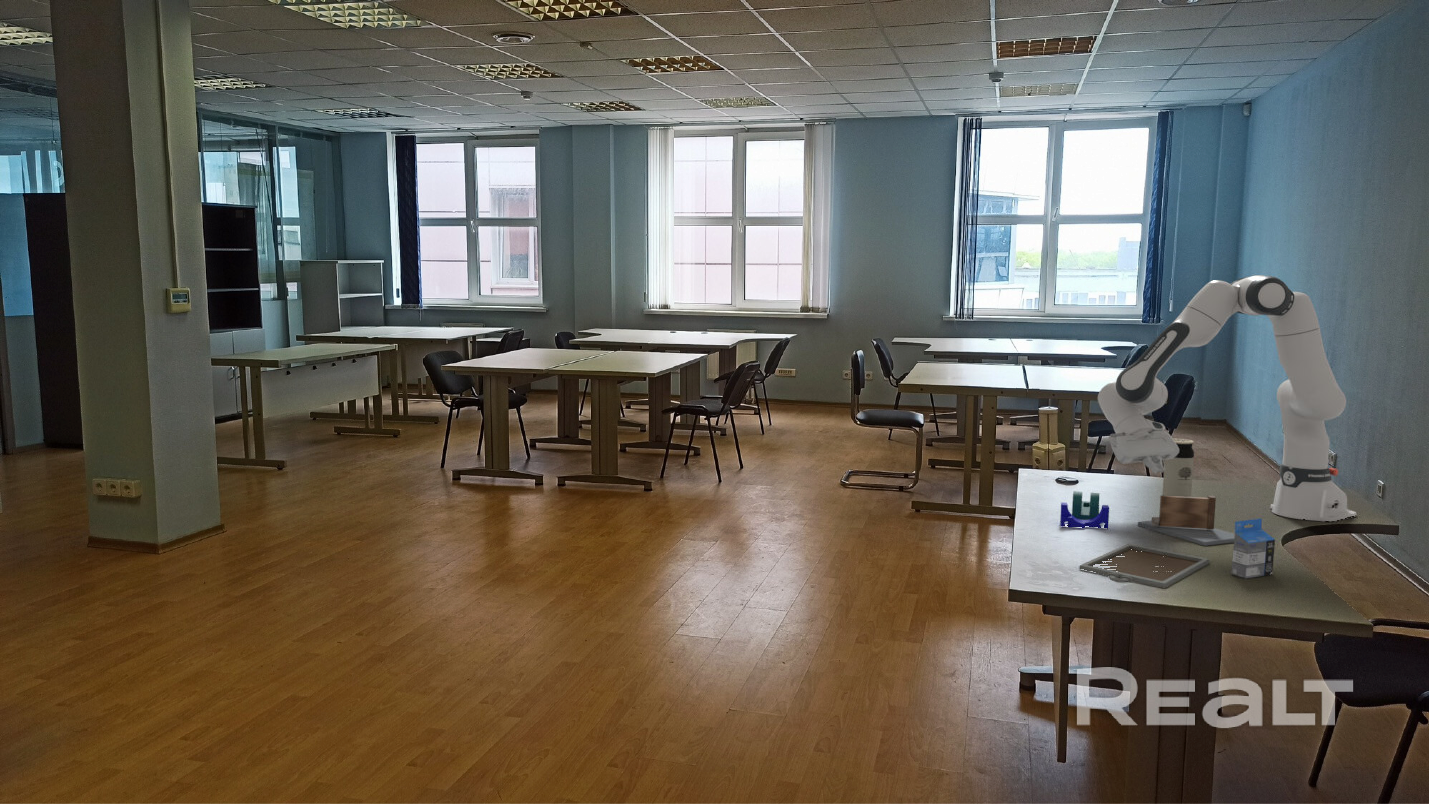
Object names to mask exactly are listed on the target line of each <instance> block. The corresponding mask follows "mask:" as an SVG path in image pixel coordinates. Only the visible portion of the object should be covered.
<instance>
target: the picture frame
mask: <svg viewBox="0 0 1429 804" xmlns="http://www.w3.org/2000/svg"><path fill="white" fill-rule="evenodd" d="M1131 549H1132V550H1131ZM1136 551H1137V552H1136ZM1141 551H1142V552H1141ZM1121 554H1122V555H1121ZM1116 556H1125V557H1116ZM1163 556H1164V557H1163ZM1108 559H1109V560H1108ZM1110 559H1112V560H1110ZM1102 561H1112V562H1106V563H1105V562H1104V563H1103V562H1102ZM1095 564H1108V565H1100V566H1117V567H1110V568H1104V569H1102V568H1098V567H1093V565H1095ZM1116 564H1117V565H1116ZM1209 564H1210V558H1206V557H1201V556H1196V555H1190V554H1185V553H1181V552H1180V553H1179V552H1174V551H1168V550H1164V549H1161V548H1160V549H1159V548H1154V547H1149V546H1143V545H1138V544H1133V543H1126V544H1125V545H1122V546H1119V547H1118V548H1115V549H1114V550H1111V551H1109V552H1107V553H1104V554H1103V555H1099V556H1097V557H1096V558H1093V559H1090V560H1089V561H1086V562H1084V563H1082V564H1080V565H1079V569H1084V570H1087V571H1093V572H1096V573H1099V574H1098V575H1101V574H1104V575H1103V576H1106V577H1108V576H1109V577H1108V578H1109V579H1110V580H1111V581H1113V582H1119V583H1128V582H1131V583H1132V582H1133V581H1134V583H1138V584H1142V585H1147V586H1153V587H1157V588H1162V589H1166V588H1168V587H1170V586H1172V585H1174V584H1176V583H1177V582H1179V581H1181V580H1182V579H1184V578H1186V577H1188V576H1189V575H1191V574H1193V573H1194V571H1195V572H1196V571H1198V570H1199V569H1202V568H1203V567H1205V566H1207V565H1209ZM1155 566H1159V567H1155ZM1161 566H1162V567H1161ZM1163 566H1164V567H1163ZM1107 569H1116V570H1107ZM1087 571H1086V572H1087ZM1116 571H1118V572H1116ZM1153 571H1154V572H1153ZM1155 571H1158V572H1155ZM1166 571H1167V572H1166ZM1168 571H1169V572H1168ZM1170 571H1172V572H1170ZM1096 573H1095V574H1096ZM1185 576H1186V577H1185ZM1176 581H1177V582H1176Z"/></svg>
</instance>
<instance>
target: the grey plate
mask: <svg viewBox="0 0 1429 804" xmlns="http://www.w3.org/2000/svg"><path fill="white" fill-rule="evenodd" d="M1151 521H1152V519H1151V520H1143V521H1141V520H1140V521H1137V526H1139V527H1141V526H1142V527H1141V528H1144V527H1145V529H1148V530H1152V531H1155V532H1159V533H1161V534H1165V535H1167V536H1171V537H1174V538H1177V539H1181V540H1184V541H1187V542H1190V543H1194V544H1198V545H1200V546H1203V547H1207V546H1215V545H1224V544H1231V543H1234V537H1235V532H1231V531H1230V532H1229V531H1226V530H1223V529H1219V528H1216V527H1214V530H1213V529H1201V528H1184V527H1166V526H1152V525H1151Z"/></svg>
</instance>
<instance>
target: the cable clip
mask: <svg viewBox="0 0 1429 804" xmlns="http://www.w3.org/2000/svg"><path fill="white" fill-rule="evenodd" d="M1059 516H1060V518H1059V524H1060V527H1061V526H1065V524H1068V525H1067V526H1068V527H1082V528H1085V526H1089V527H1098V528H1097V529H1100V528H1101V526H1102V525H1101V524H1103V525H1104V528H1107V529H1106V530H1109V522H1110V521H1109V519H1110V506H1109V505H1108V504H1102V505H1101V508H1100V510H1099V514H1098V515H1097V516H1096V517H1094V518H1092V519H1089V520H1081V519H1077V518H1075V517H1074V516H1073V515H1072V512H1070V510H1069V505H1068V502H1062V501H1061V503H1060V515H1059Z"/></svg>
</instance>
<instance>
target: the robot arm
mask: <svg viewBox="0 0 1429 804" xmlns="http://www.w3.org/2000/svg"><path fill="white" fill-rule="evenodd" d="M1235 313H1237V314H1243V315H1249V316H1267V317H1268V319H1269V320H1270V323H1271V325H1272V330H1273V335H1274V339H1275V345H1276V351H1277V355H1278V360H1279V363H1280V365H1281V366H1282V368H1283V370H1284V372H1285V374H1286V376H1287V378H1288V379H1286V380H1284V381H1283V382H1282V383H1280V385H1279V387H1278V388H1277V390H1276V391H1277V392H1276V399H1277V402H1278V404H1279V407H1280V416H1281V421H1282V430H1283V431H1282V432H1283V450H1282V451H1283V452H1282V463H1280V465H1279V466H1280V467H1279V477H1280V478H1279V480H1278V481H1277V483H1276V487H1275V493H1274V498H1273V503H1271V504H1270V509H1271V512H1272V513H1273V514H1275V515H1278V516H1281V517H1285V518H1290V519H1296V520H1303V519H1305V520H1304V521H1306V520H1307V521H1315V522H1316V521H1317V522H1325V521H1335V522H1338V521H1337V520H1339V521H1341V520H1340V519H1343V520H1346V519H1345V518H1347V517H1350V516H1354V517H1356V516H1355V515H1357V512H1356V511H1354V510H1351V509H1348V496H1347V494H1346V493H1345V492H1344V491H1343V490H1342V489H1340V488H1339V487H1338V486H1337V485H1336V484H1335V483H1334V482H1333V481H1332V476H1335V477H1336V476H1338V475H1339V469H1338V468H1333V467H1329V455H1330V444H1331V441H1330V437H1329V435H1328V432H1327V429H1326V425H1325V421H1329V420H1333V419H1336V418H1338V417H1339V416H1341V414H1343V412H1344V410H1345V409H1346V406H1347V398H1346V395H1345V393H1344V392H1343V391H1342V389H1341V388H1340V386H1339V385H1338V382H1337V380H1336V378H1335V375H1334V373H1333V370H1332V368H1331V366H1330V363H1329V361H1328V358H1327V355H1326V352H1325V348H1324V343H1323V339H1322V338H1323V337H1322V333H1321V332H1322V331H1321V327H1320V322H1319V320H1318V316H1317V315H1318V314H1317V313H1316V309H1315V308H1314V305H1313V302H1312V300H1311V298H1310V296H1309V295H1307V294H1306V293H1304V292H1300V291H1292V290H1291V289H1290V288H1289V287H1288V285H1287V284H1286V283H1285V282H1284V281H1283V280H1282V279H1280V278H1278V277H1276V276H1272V275H1261V274H1259V275H1258V274H1256V275H1252V276H1246V277H1245V276H1244V277H1242V278H1239V279H1236V280H1234V281H1233V282H1231V283H1229V282H1227V281H1225V280H1218V279H1216V280H1211V281H1209V282H1207V283H1206V284H1205V285H1204V286H1203V287H1202V288H1201V289H1200V290H1199V291H1198V292H1197V293H1196V294H1195V295H1194V296H1193V298H1192V299H1191V300H1190V301H1189V302H1188V303H1187V304H1186V306H1185V308H1184V309H1182V312H1181V313H1180V314H1179V315H1178V316H1177V317H1176V318H1175V320H1174V321H1172V323H1170V324H1169V325H1167V327H1166V328H1165V329H1163V331H1162V332H1160V334H1159V335H1158V336H1157V337H1156V338H1155V340H1153V342H1152V343H1151V344H1149V346H1148V347H1147V349H1146V350H1145V351H1144V352H1143V353H1142V354H1141V356H1139V358H1138V359H1137V360H1135V361H1134V362H1133V363H1132V364H1130V365H1128V366H1126V368H1124V369H1123V370H1121V371H1120V373H1119V374H1118V376H1117V377H1116V381H1111V382H1109V383H1107V384H1105V385H1104V386H1103V387H1102V388H1101V389H1100V390H1099V393H1098V395H1097V402H1098V405H1099V407H1100V409H1101V412H1102V413H1103V415H1104V416H1105V418H1106V419H1107V421H1108V423H1110V424H1111V425H1112V428H1113V431H1114V433H1111V434H1110V435H1109V436H1108V442H1109V443H1110V445H1111V450H1112V451H1113V454H1114V456H1115V457H1116V459H1117V461H1118V462H1119V463H1121V464H1123V465H1124V464H1133V463H1134V464H1135V463H1143V465H1144V466H1146V468H1148V469H1150V470H1151V472H1152V473H1153V474H1160V473H1164V471H1165V468H1164V464H1163V461H1165V460H1167V459H1173V458H1174V457H1175V456H1177V455H1178V453H1179V448H1178V446H1177V444H1176V443H1175V441H1174V440H1173V439H1174V438H1173V437H1172V436H1171V434H1170V433H1168V432H1167V431H1165V430H1166V426H1165V424H1163V423H1161V422H1156V421H1153V420H1151V419H1148V418H1145V417H1144V416H1146V415H1149V414H1151V413H1153V412H1155V411H1158V410H1159V409H1161V408H1162V407H1164V406H1165V404H1166V403H1167V400H1168V399H1169V391H1168V388H1167V386H1166V385H1165V384H1164V383H1163V382H1162V381H1161V380H1160V379H1158V378H1157V375H1158V373H1159V372H1160V371H1161V370H1162V368H1163V367H1164V366H1165V365H1166V364H1167V363H1168V361H1170V359H1171V358H1172V357H1173V356H1174V355H1175V354H1176V353H1177V352H1178V351H1180V350H1182V349H1184V348H1185V349H1186V348H1198V347H1203V346H1205V345H1207V344H1209V343H1210V342H1212V341H1213V339H1214V338H1215V337H1216V336H1217V335H1218V334H1219V332H1220V331H1221V330H1222V328H1223V327H1224V325H1225V324H1226V322H1227V321H1228V320H1229V318H1230V317H1232V316H1233V315H1235ZM1357 516H1358V515H1357ZM1347 519H1348V518H1347Z"/></svg>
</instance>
